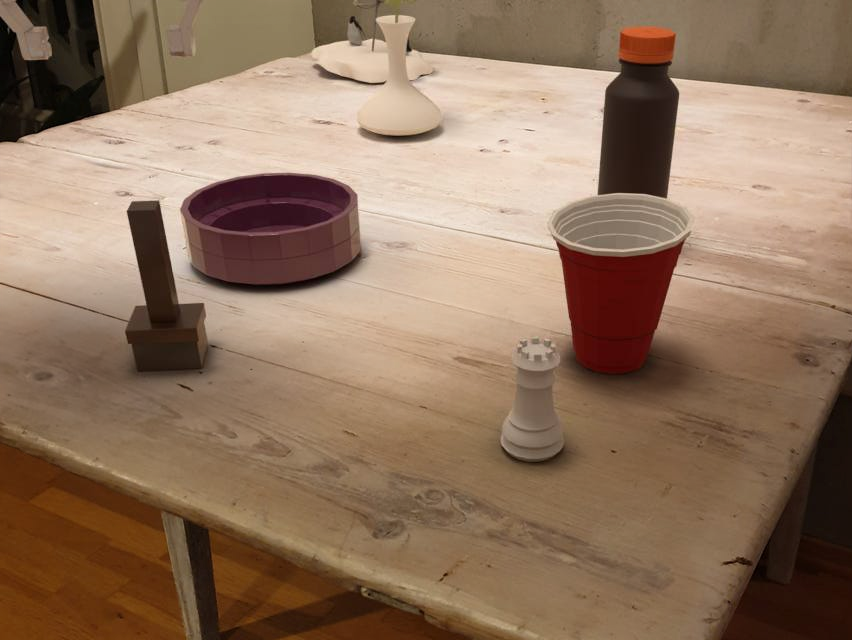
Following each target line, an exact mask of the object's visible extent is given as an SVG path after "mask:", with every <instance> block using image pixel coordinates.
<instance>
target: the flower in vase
mask: <svg viewBox="0 0 852 640" xmlns="http://www.w3.org/2000/svg"><path fill="white" fill-rule="evenodd" d="M384 1H385V2H384V3H383V4H384V5H385V6H386V5H387V6H389V7H390V6H391V7H394V8H395V14H390V15H389V14H388V15H382V16H377V18H376V24H377V25H378V26H379V27H380V29H381V32H382V33H383V36H384V40H385V42H386V44H387V50H388V59H389V74H388V78H387V80H386V81H385V82H384V84H383V85H382V86H381V87H380V89H378V91H376V92H375V93H374V94H373V95H372V96H371V97H370V98H368V99H367V100H366V101H365V102H364V103H363V104H362V106H361V107H360V108H359V109H358V112H357V115H356V118H355V119H356V121H357V123H358V124H359V126H360V127H361V128H362V129H364V130H367V131H369V132H371V133H374V134H379V135H385V136H395V137H396V136H412V135H419V134H422V133H426V132H429V131H431V130H434V129H435V128H437V127H438V126H440V124H441V122H442V121H443V118H444V117H443V113H442V111H441V109H440V107H438V105H436V104H435V102H434V101H432V99H430V98H429V97H428V96H426V94H424V93H423V92H422V91H421V90H419V89H418V88H417V87H416V86H415V85H413V83H412V82H411V80H409V78H408V75H407V70H406V47H407V39H409V34H410V31H411V29H412V27H413V25H414V24H415V22H416V17H414V16H410V15H403V14H402V15H401V14H399V10H400V6H401V5H402V4H403V3H404V1H405V0H384ZM406 1H407V2H408V3H409V4H414V3H416V1H417V0H406Z"/></svg>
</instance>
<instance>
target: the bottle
mask: <svg viewBox="0 0 852 640" xmlns="http://www.w3.org/2000/svg"><path fill="white" fill-rule="evenodd" d="M619 33H620V34H619V44H618V45H619V46H618V58H619V59H618V63H619V64H620V73H619V74H618V75H616V77H615V78H613V80H612V81H611V82H610V83H609V84H608V85H606V88H605V92H604V103H603V116H602V117H603V119H602V131H601V142H600V143H601V146H600V157H599V171H598V182H597V194H596V196H597V195H605V194H614V193H629V194H647V195H652V196H656V197H661V198H666V199H668V196H669V195H668V193H669V187H670V186H669V185H670V177H671V168H672V161H673V151H674V143H675V136H676V135H675V134H676V127H677V119H678V110H679V101H680V91H679V89H678V87H677V85H676V84H675V83H674V81H673V80H672V79H671V77H670V76H669V67H670V66H671V65H672V64H673V61H672V60H673V59H674V55H675V44H676V35H677V33H676V32H675V31H674V30H671V29H668V28H665V27H659V26H631V27H630V26H629V27H626V28H623V29H622V30H620V32H619Z"/></svg>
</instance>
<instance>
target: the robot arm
mask: <svg viewBox="0 0 852 640" xmlns="http://www.w3.org/2000/svg"><path fill="white" fill-rule="evenodd" d="M16 1H17V0H0V17H1V19H2V20H3V21H4V22H5V24H6V25H7V26H8V27H9V28H10V29H11V31H12V32H13V33H15V34H16V38H17V41H18V45H19V50H20V53H21V56H22V59H23V60H25V61H38V60H40V61H41V60H49V58H51V57H52V55H53V49H52V45H51V43H50V42H49V41H48V40H49V38H50V36H49V31H48V27H47V26H34V24H33V23H32V22H31V20H30V19H29V18H28V17H27V15H26V14H25V13H24V11H23V10H22V8H21V7H20V6H19V5H18V3H17V2H16ZM179 2H187V5H186V8H185V10H184V13H183V15H182V18H181V21H180V23H177V24H175V23H174V24H169V26H168V27H167V28H166V29H165V32H166V33H165V34H166V39H167V42H168V43H169V44H170V45H169V47H168V51H169V56H170V57H171V58H193V57H194V56H195V55H196V50H197V49H196V48H197V47H196V41H195V34H194V33H195V32H194V28H193V26H194V25H195V22H196V20H197V17H198V15H199V12H200V9H201V7H202V5H203V2H204V0H179Z"/></svg>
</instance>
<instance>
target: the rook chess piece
mask: <svg viewBox="0 0 852 640" xmlns="http://www.w3.org/2000/svg"><path fill="white" fill-rule="evenodd" d="M539 338H540V337H539V336H531V337H530V342H528V339H527V338H526V337H523V338H522V339H520V340H519V343H517V344H516V349H515V350H514V352H513V353H512V355H511V356H510V359H511V362H512V363H513V365H514V366H515V368H516V369H517V371H516V372H515V374H514V376H513V379H514V382H515V383H516V390H515V396H514V401H513V405H512V408H511V409H510V411H509V412H508V415H507V417H506V418H505V419H504V421H503V422H502V426H501V436H500V444H501V446H502V448H504V450H505V451H506V453H508V455H510V456H511V457H513V458H515V459H516V460H518V461H523V462H528V463H531V462H534V463H535V462H537V463H538V462H543V461H547V460H550V459H551V458H553V457H555V456H556V455H557V454H559V453H560V452H561V450H562V448H563V447H564V445H565V440H564V436H563V435H564V427H563V422H562V421H561V419H559V415H558V413H557V411H556V410H555V406H554V397H553V385H554V384H555V383H556V382H557V377H556V375H555V373H554V370H555V369H556V368H557V366H558V365H559V364H560V363H561V356H560V355H559V353H558V352H557V351H556V349H557V348H556V343H552V339H550V338H548V337H545V338H543V342H539Z"/></svg>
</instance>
